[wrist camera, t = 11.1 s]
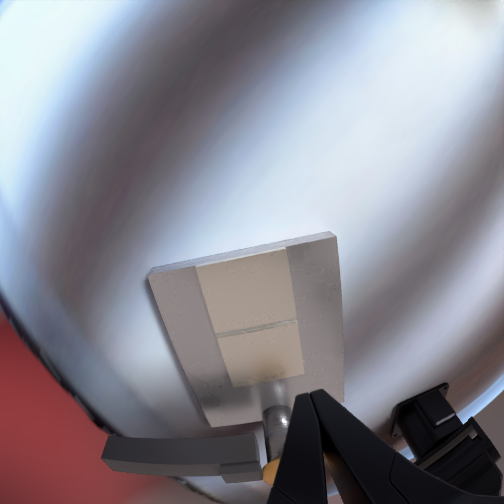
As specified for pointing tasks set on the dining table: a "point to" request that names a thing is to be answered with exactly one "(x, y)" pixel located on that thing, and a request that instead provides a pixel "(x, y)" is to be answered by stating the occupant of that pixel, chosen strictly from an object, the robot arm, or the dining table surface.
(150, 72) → the dining table surface
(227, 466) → the bar
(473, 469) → the robot arm
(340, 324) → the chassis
